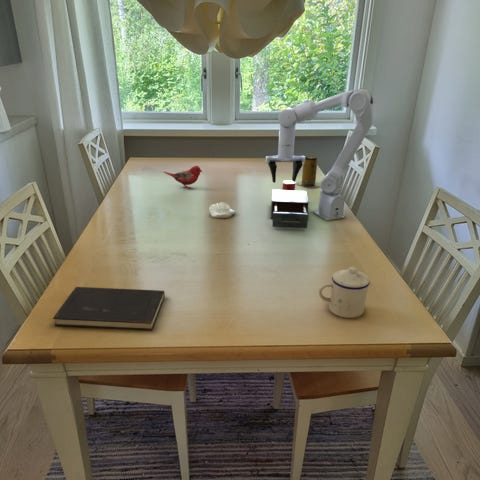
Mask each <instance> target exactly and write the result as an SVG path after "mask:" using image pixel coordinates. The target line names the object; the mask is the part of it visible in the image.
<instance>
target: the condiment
mask: <svg viewBox="0 0 480 480" xmlns="http://www.w3.org/2000/svg"><path fill="white" fill-rule="evenodd" d="M317 160H318V157H317V156H315V155H306V156H305V162H303V165H302V172H301V173H302V174H301V182H298V183H297V185H299V186H302V187H306V188H309V189H315V188H318V187H319V188H320V187H321V186H320V184H318V183H316V178H317V171H318V170H317V169H318V164H317V163H318V161H317Z"/></svg>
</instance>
